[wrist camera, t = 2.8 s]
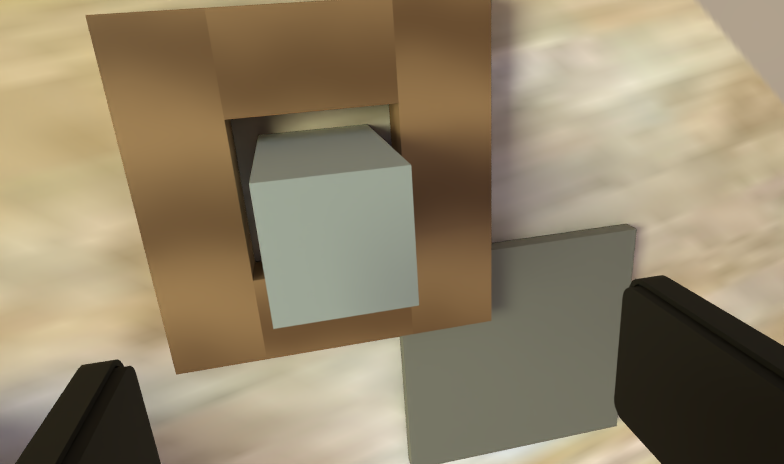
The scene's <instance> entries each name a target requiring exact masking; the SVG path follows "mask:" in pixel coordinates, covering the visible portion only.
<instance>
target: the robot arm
mask: <svg viewBox="0 0 784 464" xmlns="http://www.w3.org/2000/svg"><path fill="white" fill-rule="evenodd" d="M614 404H615V408H616V411H617V413H618V415H619V417H620V418H621V420H622V421H623V422H624V423H625V424H626V425H627V426H628V427H629V428H630V430H631V431H632V432H633V433H634V434H635V435H636V436H637V437H638V438H639V439H640V441H641V442H642V443H643V444H644V445H645V446H646V447H647V448H648V449H649V450H650V452H651V453H652V454H653V455H654V456H655V457H656V458H657V459H658V460H659V462H660V463H661V464H784V346H783V345H781V344H779V343H778V342H776V341H774V340H773V339H771V338H769V337H768V336H766V335H764V334H763V333H761V332H759V331H757V330H756V329H754V328H752V327H751V326H749V325H747V324H746V323H744V322H742V321H741V320H739V319H737V318H736V317H734V316H732V315H730V314H729V313H727V312H725V311H724V310H722V309H720V308H719V307H717V306H715V305H714V304H712V303H710V302H709V301H707V300H705V299H703V298H702V297H700V296H698V295H697V294H695V293H693V292H692V291H690V290H688V289H687V288H685V287H683V286H682V285H680V284H678V283H676V282H675V281H673V280H671V279H670V278H668V277H666V276H663V275H661V276H654V277H647V278H641V279H635V280H633V281H632V282H631V284H630V286H629V288H626V289H625V291H624V292H623V297H622V309H621V321H620V333H619V345H618V357H617V369H616V381H615V393H614ZM15 464H161V463H160V459H159V455H158V452H157V448H156V444H155V441H154V437H153V434H152V430H151V426H150V423H149V419H148V415H147V412H146V408H145V404H144V401H143V397H142V394H141V390H140V386H139V383H138V379H137V375H136V372H135V370H134V368H133V367H132V366H126V367H124V366H123V364H122V363H121V361H119V360H111V361H105V362H98V363H92V364H85V365H81V367H80V368H79V369H78V370H77V372H76V373H75V375H74V376H73V378H72V379H71V381H70V382H69V384H68V385H67V387H66V388H65V390H64V391H63V393H62V394H61V396H60V397H59V399H58V400H57V402H56V403H55V405H54V406H53V408H52V409H51V411H50V412H49V414H48V415H47V417H46V418H45V420H44V421H43V423H42V424H41V426H40V427H39V429H38V430H37V432H36V433H35V435H34V436H33V438H32V439H31V441H30V442H29V444H28V445H27V447H26V448H25V450H24V451H23V453H22V454H21V456H20V457H19V459H18V460H17V462H16V463H15Z"/></svg>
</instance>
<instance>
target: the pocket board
mask: <svg viewBox="0 0 784 464" xmlns="http://www.w3.org/2000/svg"><path fill="white" fill-rule="evenodd" d="M85 16H86V19H87V23H88V27H89V31H90V35H91V39H92V43H93V47H94V51H95V55H96V59H97V63H98V67H99V71H100V75H101V79H102V83H103V87H104V91H105V95H106V99H107V103H108V107H109V110H110V114H111V118H112V122H113V126H114V130H115V134H116V138H117V142H118V146H119V150H120V154H121V158H122V162H123V166H124V170H125V174H126V178H127V182H128V186H129V190H130V194H131V197H132V201H133V205H134V209H135V213H136V217H137V221H138V225H139V229H140V233H141V237H142V241H143V245H144V249H145V253H146V257H147V261H148V265H149V269H150V273H151V277H152V281H153V285H154V288H155V292H156V296H157V300H158V304H159V308H160V312H161V316H162V320H163V324H164V328H165V332H166V336H167V340H168V344H169V348H170V352H171V356H172V360H173V364H174V368H175V372H176V374H182V373H188V372H194V371H200V370H206V369H212V368H218V367H223V366H229V365H235V364H241V363H247V362H253V361H259V360H265V359H270V358H276V357H282V356H288V355H294V354H300V353H306V352H312V351H317V350H323V349H329V348H335V347H341V346H347V345H353V344H359V343H364V342H370V341H376V340H382V339H388V338H394V337H400V336H406V335H411V334H417V333H423V332H429V331H435V330H441V329H447V328H453V327H458V326H464V325H470V324H476V323H482V322H488V321H491V0H327V1H311V2H294V3H278V4H261V5H245V6H228V7H212V8H195V9H179V10H163V11H146V12H130V13H113V14H97V15H85ZM384 104H389V112H390V127H391V141H392V148H393V149H394V150H395V151H397V152H398V153H399V154H400V155H401V156H402V157H403V158H404V159H405V160H406V161H407V162H409V163H410V164H411V170H412V188H413V205H414V223H415V241H416V259H417V277H418V294H419V306H412V307H406V308H400V309H394V310H388V311H381V312H375V313H369V314H363V315H357V316H350V317H344V318H338V319H332V320H326V321H319V322H313V323H307V324H301V325H295V326H288V327H282V328H276V329H273V323H272V317H271V311H270V305H269V300H268V294H267V288H266V282H265V276H264V270H263V264H262V261H258V262H255V259H254V254H253V248H252V242H251V237H250V231H249V225H248V219H247V214H246V208H245V202H244V196H243V191H242V185H241V179H240V173H239V168H238V162H237V156H236V151H235V145H234V139H233V133H232V128H231V122H230V119H237V118H248V117H258V116H269V115H279V114H290V113H300V112H311V111H321V110H332V109H342V108H353V107H363V106H374V105H384Z"/></svg>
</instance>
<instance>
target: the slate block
mask: <svg viewBox="0 0 784 464" xmlns="http://www.w3.org/2000/svg"><path fill="white" fill-rule="evenodd" d="M249 187H250V193H251V199H252V205H253V211H254V217H255V223H256V229H257V235H258V240H259V246H260V252H261V258H262V264H263V270H264V276H265V282H266V288H267V294H268V300H269V305H270V311H271V317H272V323H273V329H276V328H282V327H288V326H295V325H301V324H307V323H313V322H319V321H326V320H332V319H338V318H344V317H350V316H357V315H363V314H369V313H375V312H381V311H388V310H394V309H400V308H406V307H412V306H419V294H418V277H417V259H416V241H415V223H414V205H413V188H412V170H411V164H410V163H409V162H407V161H406V160H405V159H404V158H403V157H402V156H401V155H400V154H399V153H398V152H397V151H395V150H394V149H393V148H392V147H391V146H390V145H389V144H388V143H387V142H386V141H385V140H383V139H382V138H381V137H380V136H379V135H378V134H377V133H376V132H375V131H374V130H373V129H371V128H370V127H369V126H368V125H367V124H364V125H354V126H344V127H334V128H324V129H315V130H305V131H295V132H285V133H275V134H265V135H258V140H257V145H256V150H255V155H254V160H253V165H252V171H251V176H250V181H249Z"/></svg>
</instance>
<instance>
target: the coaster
mask: <svg viewBox="0 0 784 464" xmlns="http://www.w3.org/2000/svg"><path fill="white" fill-rule="evenodd" d="M636 231H637V229H636V228H634V227H632V226H630V225H628V224H623V225H616V226H609V227H602V228H595V229H588V230H581V231H574V232H567V233H560V234H553V235H546V236H540V237H533V238H526V239H519V240H512V241H505V242H498V243H491V321H488V322H482V323H476V324H470V325H464V326H458V327H453V328H447V329H441V330H435V331H429V332H423V333H417V334H411V335H406V336H400V345H401V358H402V372H403V386H404V400H405V414H406V427H407V441H408V455H409V461H410V464H441V463H446V462H451V461H455V460H460V459H465V458H469V457H474V456H479V455H483V454H488V453H493V452H497V451H502V450H507V449H511V448H516V447H521V446H525V445H530V444H535V443H539V442H544V441H549V440H553V439H558V438H563V437H567V436H572V435H577V434H581V433H586V432H591V431H595V430H600V429H605V428H610V427H614V426H617V417H618V413H617V411H616V408H615V404H614V393H615V381H616V369H617V357H618V345H619V333H620V321H621V309H622V297H623V292H624V291H625V289H626V288H629V286H630V284H631V280H632V270H633V260H634V250H635V240H636Z"/></svg>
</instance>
